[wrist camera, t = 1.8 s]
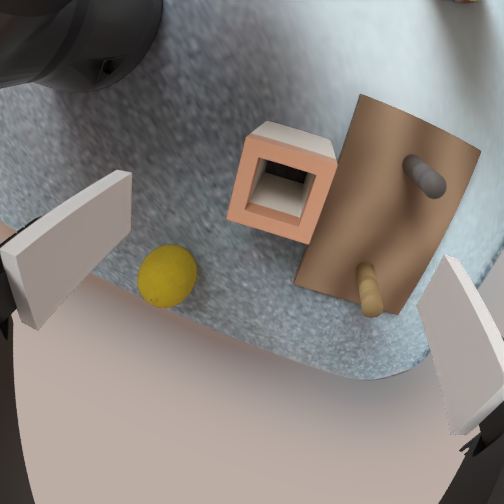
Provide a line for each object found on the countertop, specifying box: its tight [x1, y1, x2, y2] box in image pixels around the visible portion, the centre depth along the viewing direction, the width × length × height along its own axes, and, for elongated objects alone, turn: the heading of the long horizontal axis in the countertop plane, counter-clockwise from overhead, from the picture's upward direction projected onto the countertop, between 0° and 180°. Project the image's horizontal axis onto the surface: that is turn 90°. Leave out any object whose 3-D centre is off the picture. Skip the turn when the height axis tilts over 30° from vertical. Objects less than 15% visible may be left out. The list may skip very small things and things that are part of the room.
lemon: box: [137, 244, 197, 308], centre depth 31 cm, size 6×6×8 cm
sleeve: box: [226, 121, 338, 245], centre depth 23 cm, size 6×6×9 cm
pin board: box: [294, 94, 481, 318], centre depth 25 cm, size 12×19×7 cm, turn 166°
